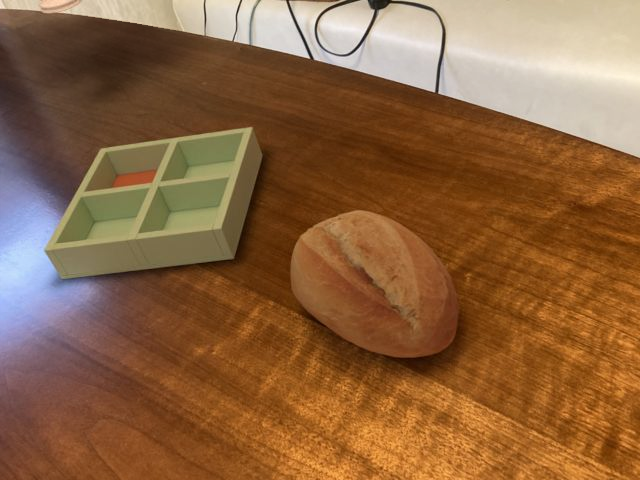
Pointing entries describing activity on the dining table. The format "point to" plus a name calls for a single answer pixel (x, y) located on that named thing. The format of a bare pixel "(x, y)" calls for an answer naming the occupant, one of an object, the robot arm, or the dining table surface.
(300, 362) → the dining table surface
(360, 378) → the dining table surface
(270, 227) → the dining table surface
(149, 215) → the grid
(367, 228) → the bread roll
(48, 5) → the chess piece
